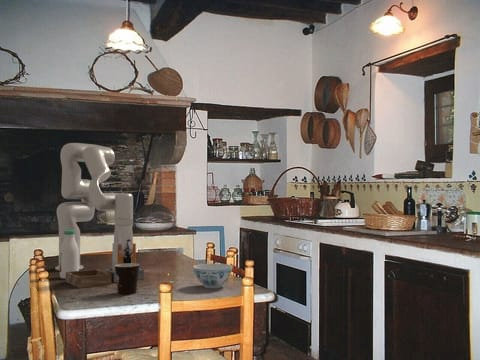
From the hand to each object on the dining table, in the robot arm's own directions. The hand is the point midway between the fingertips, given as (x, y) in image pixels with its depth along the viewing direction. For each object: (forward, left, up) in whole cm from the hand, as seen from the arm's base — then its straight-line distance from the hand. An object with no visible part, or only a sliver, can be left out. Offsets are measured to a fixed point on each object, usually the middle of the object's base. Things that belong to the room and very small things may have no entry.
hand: (123, 265), depth 207 cm
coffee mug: (+29, -11, -6) cm, 32 cm away
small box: (0, 0, -4) cm, 4 cm away
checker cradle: (0, 0, -6) cm, 6 cm away
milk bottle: (-18, -17, -6) cm, 25 cm away
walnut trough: (0, -15, -6) cm, 16 cm away
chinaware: (+36, +21, -6) cm, 42 cm away
